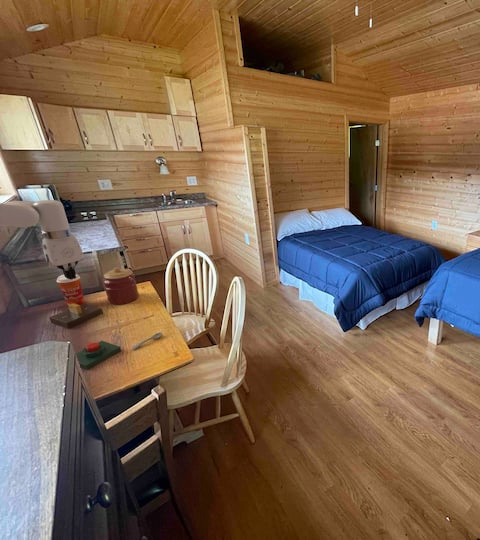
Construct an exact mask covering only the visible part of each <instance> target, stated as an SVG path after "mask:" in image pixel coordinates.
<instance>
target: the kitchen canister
mask: <svg viewBox="0 0 480 540" xmlns="http://www.w3.org/2000/svg"><path fill="white" fill-rule="evenodd" d="M102 283H103V284H104V286H103V288H104V290H105V293H106V299H107V301H108V303H109V304H111V305H125V304H128V303H131V302H134V301H137V299H139V297H140V294H139V289H138V285H137V280H136V275H135V274H134V273H133V271H132V270H130V269H127V268H120V267H117V266H115V267H114V268H113V269H111V270H109V271H107V272H106V273H104V274H103V279H102Z"/></svg>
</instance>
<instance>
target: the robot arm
mask: <svg viewBox="0 0 480 540" xmlns="http://www.w3.org/2000/svg"><path fill="white" fill-rule="evenodd" d="M63 204H64V203H62V202H61V201H60V200H56V199H43V200H37V201H36V200H32V201H31V200H30V201H29V200H11V201H7V202H5V203H3V202H0V227H7V228H21V229H24V228H30V227H33V226H35V225H37V224H38V223H39V226H40V227H39V228H40V229H41V232H40V233H39V234H38V237H39V238H40V239H41V238H42V250H43V255H44V259H45V261H46V263H47V264H48V268H49V269H52V270H54V269H60V270H62V273H63V275H64V276H65V277H66V278H67V279H71V280H72V279H73V278H74V279H75V278H76V274H77V273H76V268H77V267H76V266H77V265H78V263H81V262H82V261H84V258H85V255H84V252H83V249H82V247H81V245H80V242H79V241H78V239H77V237H76V235H74V234H72V232H71V228H70V224H69V221H68V218H67V215H66V211H65V207H64V205H63Z"/></svg>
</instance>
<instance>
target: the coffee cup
mask: <svg viewBox="0 0 480 540" xmlns="http://www.w3.org/2000/svg"><path fill="white" fill-rule="evenodd" d="M56 283H57V285H58V286H59V288H60V291H61V293H62V295H63V298H64V300H65V302H66V304H67V306H68V304H69V303H71V302H72V303H74V304H77V305H82V304H85V299H84V294H83V293H84V292H83V289H82V284H81V276H80V275H78V273H76V278H75V279H74V278H73V279H72V280H71V279H67V278H66V277H65V276H64V274H61V275H59V276H58V277H57V278H56Z"/></svg>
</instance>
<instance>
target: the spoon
mask: <svg viewBox="0 0 480 540" xmlns="http://www.w3.org/2000/svg"><path fill="white" fill-rule="evenodd" d="M162 336H163V332H157V333H155V334H153V335H152V336H151V337H147V338H146V339H144V340H142V341H140V342H138V343H136V344H134V345H133V346H131V348H130V349H131V350H132V351H135V350H137V349H138V348H140V347H141V346H142V345H143V344H145V343H147V342H149V341H150V340H151V341H152V340H158V339H160V338H161V337H162Z"/></svg>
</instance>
